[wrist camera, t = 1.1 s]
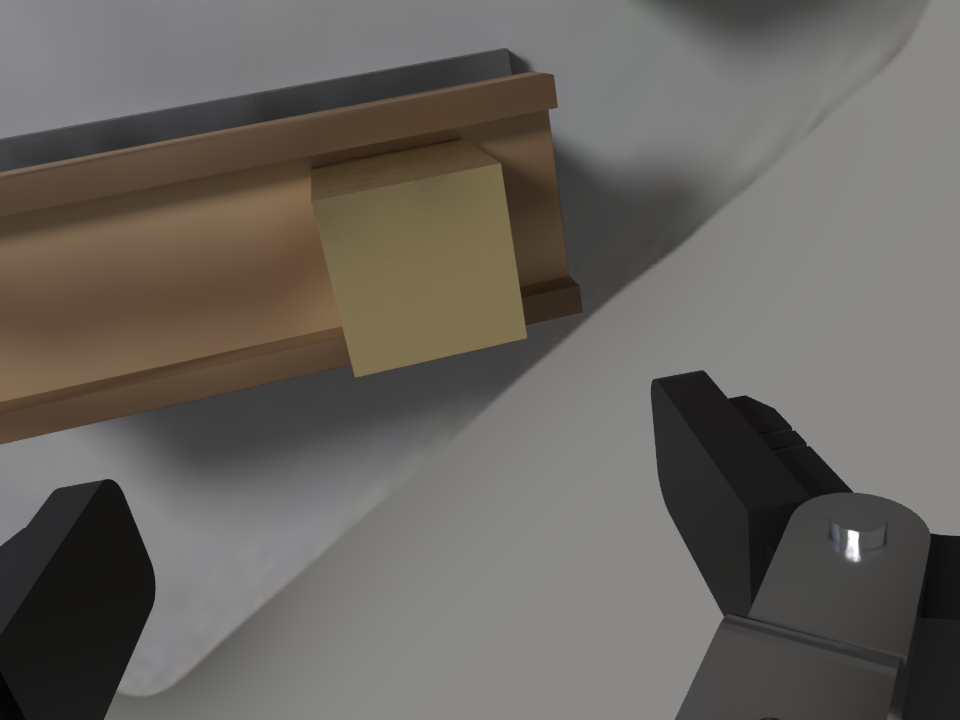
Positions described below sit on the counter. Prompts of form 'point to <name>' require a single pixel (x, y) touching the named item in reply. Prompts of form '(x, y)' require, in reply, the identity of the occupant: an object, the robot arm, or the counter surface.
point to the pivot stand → (247, 109)
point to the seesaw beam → (230, 253)
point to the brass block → (418, 253)
